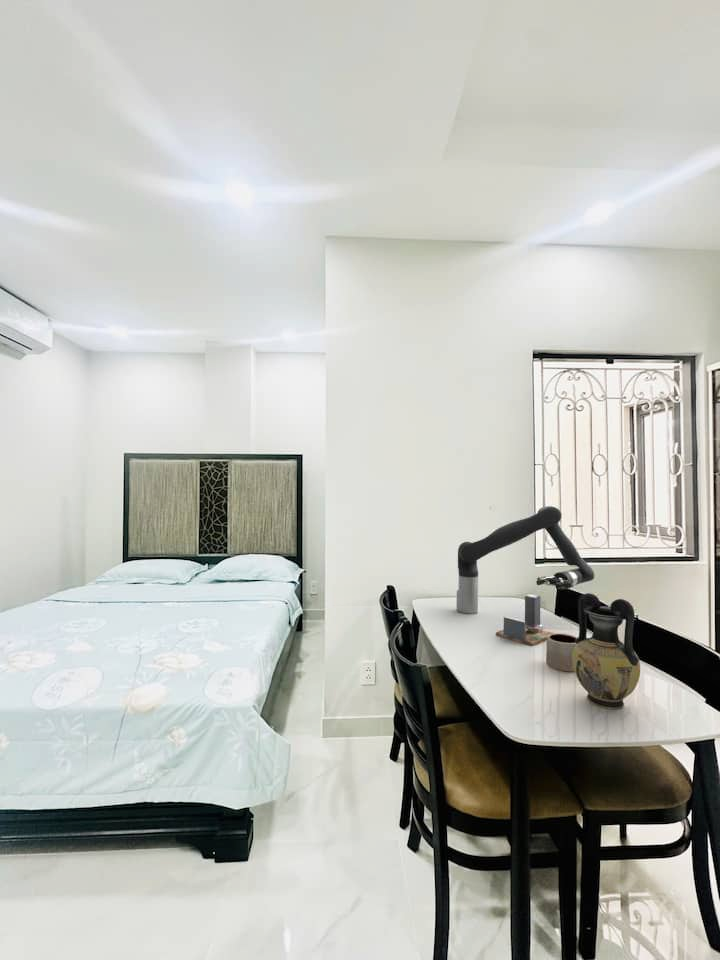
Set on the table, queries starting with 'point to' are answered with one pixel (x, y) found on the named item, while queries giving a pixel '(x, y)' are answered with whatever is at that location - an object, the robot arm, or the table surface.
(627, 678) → the amphora
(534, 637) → the mottled brown square slab
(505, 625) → the grey rectangular panel
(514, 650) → the table surface
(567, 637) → the planter
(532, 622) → the block
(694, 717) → the table surface
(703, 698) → the table surface
